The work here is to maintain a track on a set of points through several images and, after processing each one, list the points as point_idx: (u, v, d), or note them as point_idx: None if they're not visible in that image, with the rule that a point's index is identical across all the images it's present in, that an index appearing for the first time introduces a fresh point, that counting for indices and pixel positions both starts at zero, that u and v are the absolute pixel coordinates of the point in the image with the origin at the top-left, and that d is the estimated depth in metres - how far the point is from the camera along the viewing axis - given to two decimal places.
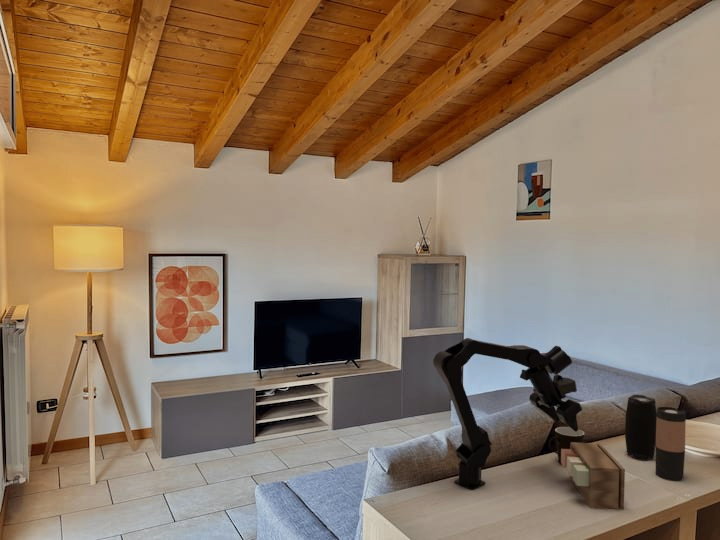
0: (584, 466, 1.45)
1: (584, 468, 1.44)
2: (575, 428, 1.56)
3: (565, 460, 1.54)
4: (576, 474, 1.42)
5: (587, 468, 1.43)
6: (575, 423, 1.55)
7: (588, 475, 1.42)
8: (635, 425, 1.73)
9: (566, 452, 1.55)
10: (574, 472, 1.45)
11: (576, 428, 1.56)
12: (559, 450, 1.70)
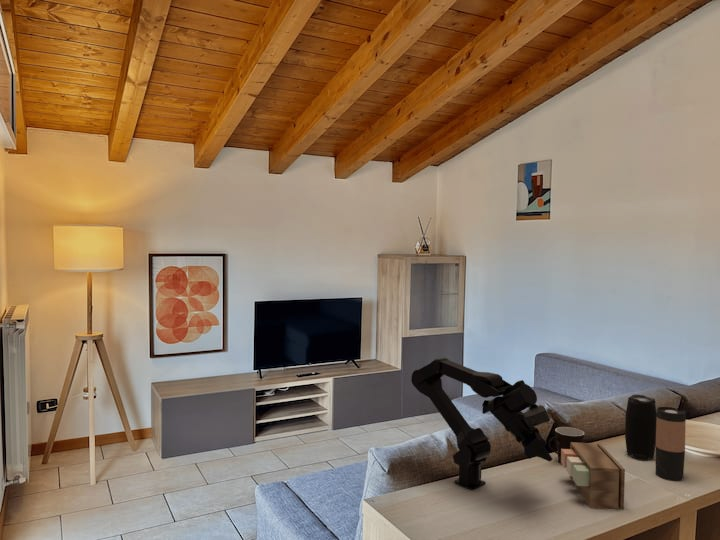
0: (584, 466, 1.45)
1: (584, 468, 1.44)
2: (548, 458, 1.43)
3: (565, 460, 1.54)
4: (576, 474, 1.42)
5: (587, 468, 1.43)
6: (545, 453, 1.43)
7: (588, 475, 1.42)
8: (635, 425, 1.73)
9: (566, 452, 1.55)
10: (574, 472, 1.45)
11: (549, 458, 1.43)
12: (559, 450, 1.70)
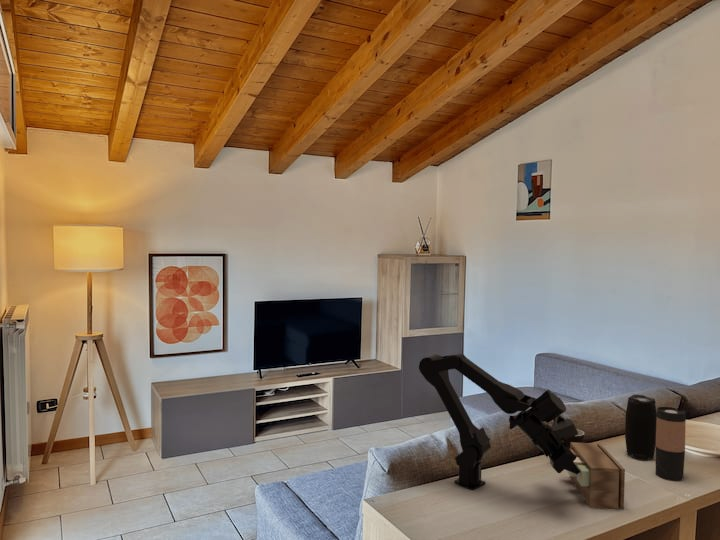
0: None
1: (588, 468, 1.44)
2: (575, 471, 1.43)
3: None
4: (580, 475, 1.42)
5: None
6: (573, 465, 1.43)
7: None
8: (635, 425, 1.73)
9: None
10: None
11: (576, 470, 1.43)
12: None
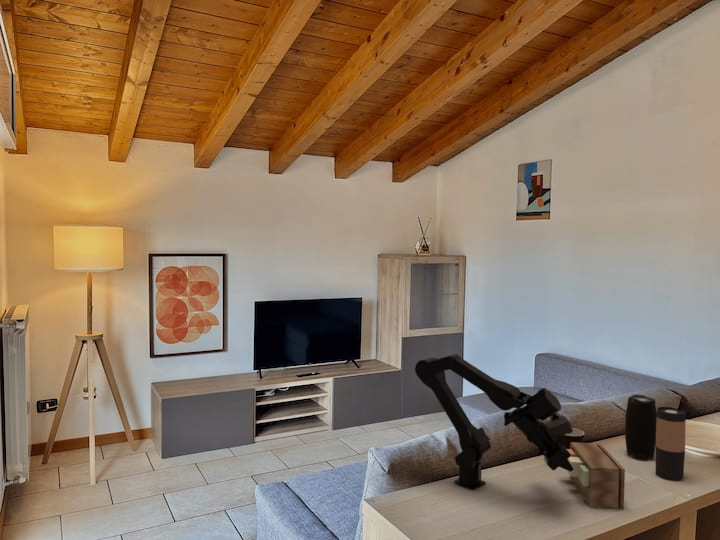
0: None
1: None
2: (569, 468, 1.43)
3: None
4: (583, 475, 1.42)
5: None
6: (567, 463, 1.43)
7: None
8: (635, 425, 1.73)
9: None
10: (580, 472, 1.44)
11: (570, 468, 1.44)
12: None
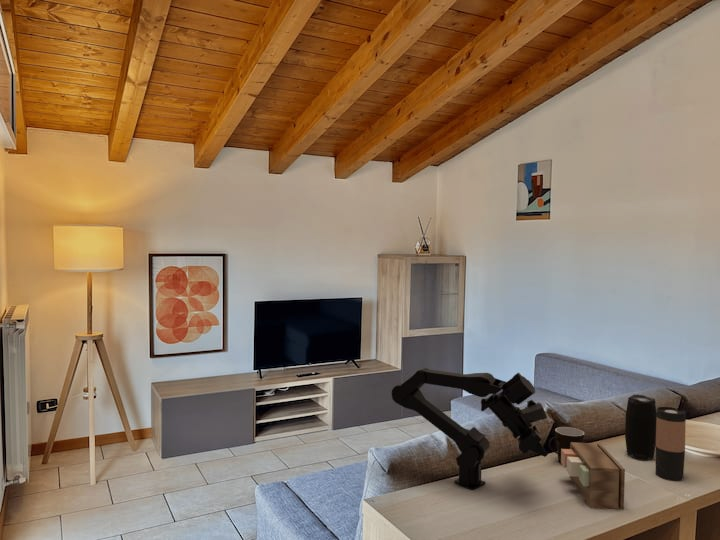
0: None
1: None
2: (543, 453, 1.48)
3: (565, 460, 1.54)
4: (583, 475, 1.42)
5: None
6: (541, 448, 1.47)
7: None
8: (635, 425, 1.73)
9: (566, 452, 1.55)
10: (580, 472, 1.44)
11: (544, 453, 1.48)
12: (559, 450, 1.70)
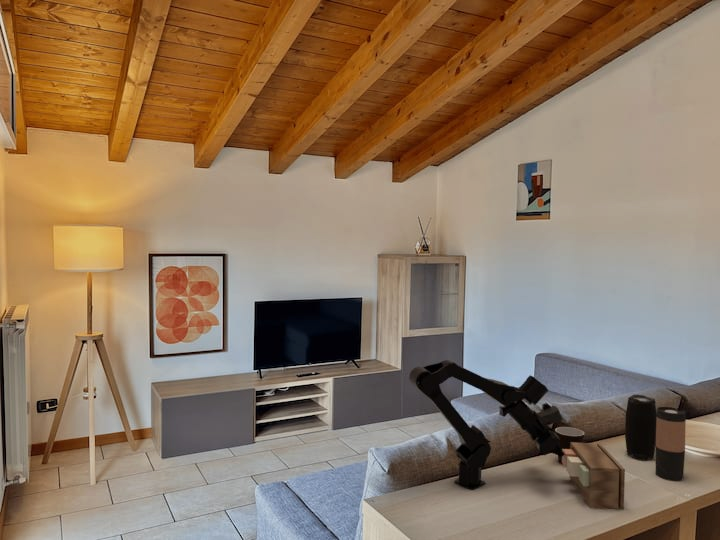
0: None
1: None
2: (560, 453, 1.55)
3: (566, 460, 1.54)
4: (583, 475, 1.42)
5: None
6: (558, 449, 1.55)
7: None
8: (635, 425, 1.73)
9: (567, 452, 1.55)
10: (580, 472, 1.44)
11: (561, 453, 1.55)
12: None
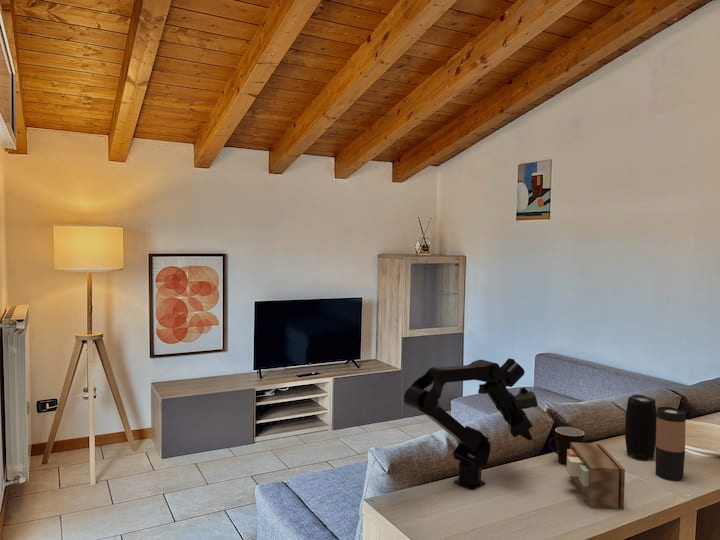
0: None
1: None
2: (528, 437, 1.58)
3: None
4: (583, 475, 1.42)
5: None
6: (527, 433, 1.58)
7: None
8: (635, 425, 1.73)
9: (572, 452, 1.55)
10: (580, 472, 1.44)
11: (529, 437, 1.58)
12: (559, 450, 1.70)
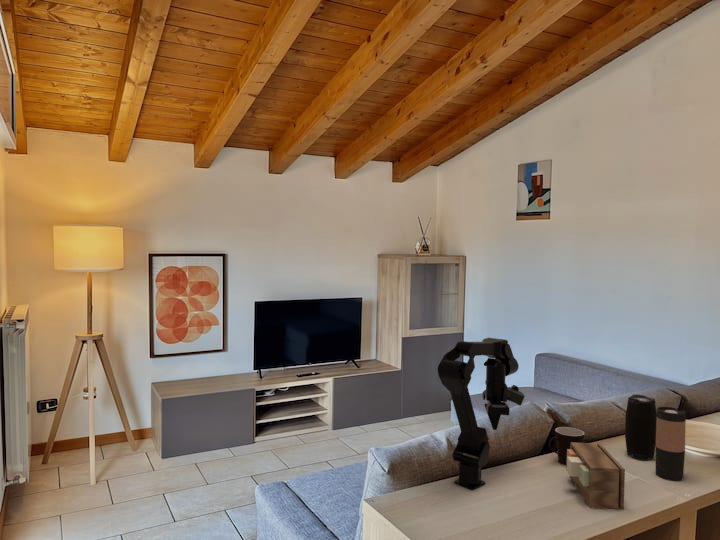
0: None
1: None
2: (494, 426, 1.65)
3: None
4: (583, 475, 1.42)
5: None
6: (496, 421, 1.64)
7: None
8: (635, 425, 1.73)
9: (572, 452, 1.55)
10: (580, 472, 1.44)
11: (495, 427, 1.65)
12: (559, 450, 1.70)
